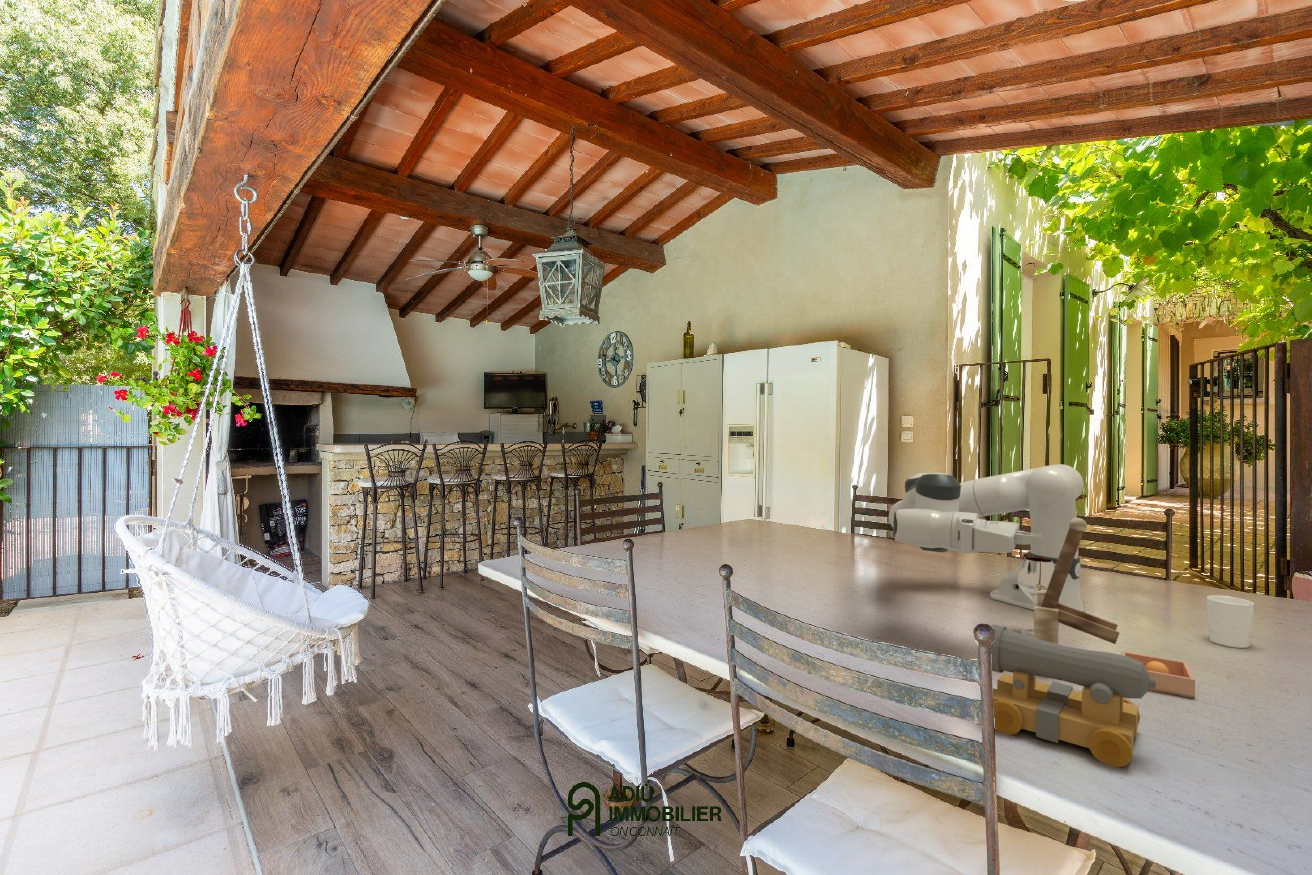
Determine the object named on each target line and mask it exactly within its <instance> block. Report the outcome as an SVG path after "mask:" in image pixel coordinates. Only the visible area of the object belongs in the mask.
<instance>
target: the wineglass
mask: <svg viewBox="0 0 1312 875" xmlns="http://www.w3.org/2000/svg"><path fill="white" fill-rule="evenodd" d="M1021 565H1022V566H1021ZM1021 565H1020V566H1021V569H1020V572H1019V576H1018V585H1019V587H1020V589H1021V590H1022V591H1023V592H1024V593H1025V594H1026V595H1027V596H1028V597H1029V598H1030V599H1031V600H1032V601H1033V602H1034V604H1035V606H1037V592H1038V591H1043V592H1046V591H1047V588H1048V585H1049V582H1050V579H1051V577H1052V574H1053V571H1054V568H1055V567H1054V564H1053V561H1052V560H1050V559H1046V558H1039V557H1025V558H1024V560H1023V559H1022V563H1021ZM1020 633H1021V634H1024V635H1027V636H1030V637H1033V638H1034V629H1022V630H1021V631H1020Z"/></svg>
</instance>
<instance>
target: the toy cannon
mask: <svg viewBox="0 0 1312 875" xmlns="http://www.w3.org/2000/svg"><path fill="white" fill-rule="evenodd" d="M990 627H992V629H994V631H995V633H996V639H995V641H994V642H993V643H992V645H991V654H992V671H991V672H996V673H1000V674H1001V675H1000V676H999V677H998V678H997V680H996V681H997V682H996V685H997V686H996V688H994V687H992V688H993V708H994V718H995V728H996V730H995V731H997V732H999V733H1002V734H1006V735H1008V736H1012V735H1016V734H1018V733H1019V732H1020V731H1021V730H1025V731H1028V732H1033V733H1035V737H1037V738H1039V739H1043V740H1046V741H1050V742H1052V743H1056V744H1059V741H1062V742H1067V743H1070V744H1072V745H1073V744H1074V745H1076V746H1081V747H1083V748H1087V749H1089V751H1090V752H1091V754H1092V756H1093V757H1094V758H1095V759H1096V760H1097V761H1099V762H1100V763H1102V764H1103V765H1108V766H1111V767H1114V768H1121V767H1125V766H1127V765H1128V764H1129V763H1130V762H1131V761H1132V758H1133V753H1134V747H1135V746H1134V745H1135V744H1134V739H1136V738H1137V735H1138V734H1137V733H1138V731H1139V730H1138V729H1139V723H1140V720H1141V714H1140V710H1139V705H1136V704H1134V703H1133V702H1132V701H1130V700H1129V699H1135V700H1136V699H1138V700H1139V699H1140V700H1141V699H1142V698H1143V697H1144V696H1145V695H1146V694H1147V693H1148V691H1149V690H1148V689H1149V688H1156V679H1154V678H1152V677H1150V676H1149V674H1148V671H1147V669H1146V667H1145V666H1144V664H1143V663H1142V662H1140V661H1137V660H1135V659H1133V658H1130V657H1127V656H1123V655H1121V654H1117V653H1115V652H1114V653H1113V652H1108V651H1107V652H1106V651H1098V650H1091V649H1084V648H1078V647H1072V646H1068V645H1067V646H1066V645H1063V644H1059V643H1058V644H1055V643H1051V642H1047V641H1043V640H1039V639H1036V638H1033V637H1030V636H1027V635H1024V634H1022V633H1021V632H1016V631H1013V630H1009V629H1008V628H1007V627H1006V626H1003V625H999V624H991V625H990ZM1005 672H1006V673H1005ZM1010 673H1012V674H1010ZM1037 676H1038V677H1041V678H1047V679H1053V680H1057V681H1058V680H1059V681H1063V682H1067V683H1070V684H1073V685H1077V686H1081V687H1082V689H1081V690H1082V691H1080V690H1075V689H1074V688H1073V687H1074V686H1073V685H1069V684H1065V683H1059V682H1056V681H1052V682H1051V683H1047V682H1043V681H1039V680H1037Z"/></svg>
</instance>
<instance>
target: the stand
mask: <svg viewBox="0 0 1312 875" xmlns="http://www.w3.org/2000/svg"><path fill="white" fill-rule="evenodd" d="M1045 593H1046V592H1043V591H1038V592H1037V606H1035V607H1034V610H1033V613H1034V614H1033V630H1034V638H1036V639H1039V640H1043V641H1047V642H1051V643H1055V644H1059V624H1060V623H1059V622H1058V609H1052V608H1046V607H1041V604H1042V602H1043V599H1044V596H1045ZM1058 603H1059V600H1058Z"/></svg>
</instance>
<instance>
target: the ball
mask: <svg viewBox="0 0 1312 875" xmlns="http://www.w3.org/2000/svg"><path fill="white" fill-rule="evenodd" d="M1145 667H1146V669H1147V670H1148V671H1154V672H1159V673H1165V674H1169V670H1168V668H1167V667H1166V666H1165V665H1164V664H1162V663H1160V662H1157V661H1151V662H1149V663H1147V665H1146V666H1145Z"/></svg>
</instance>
